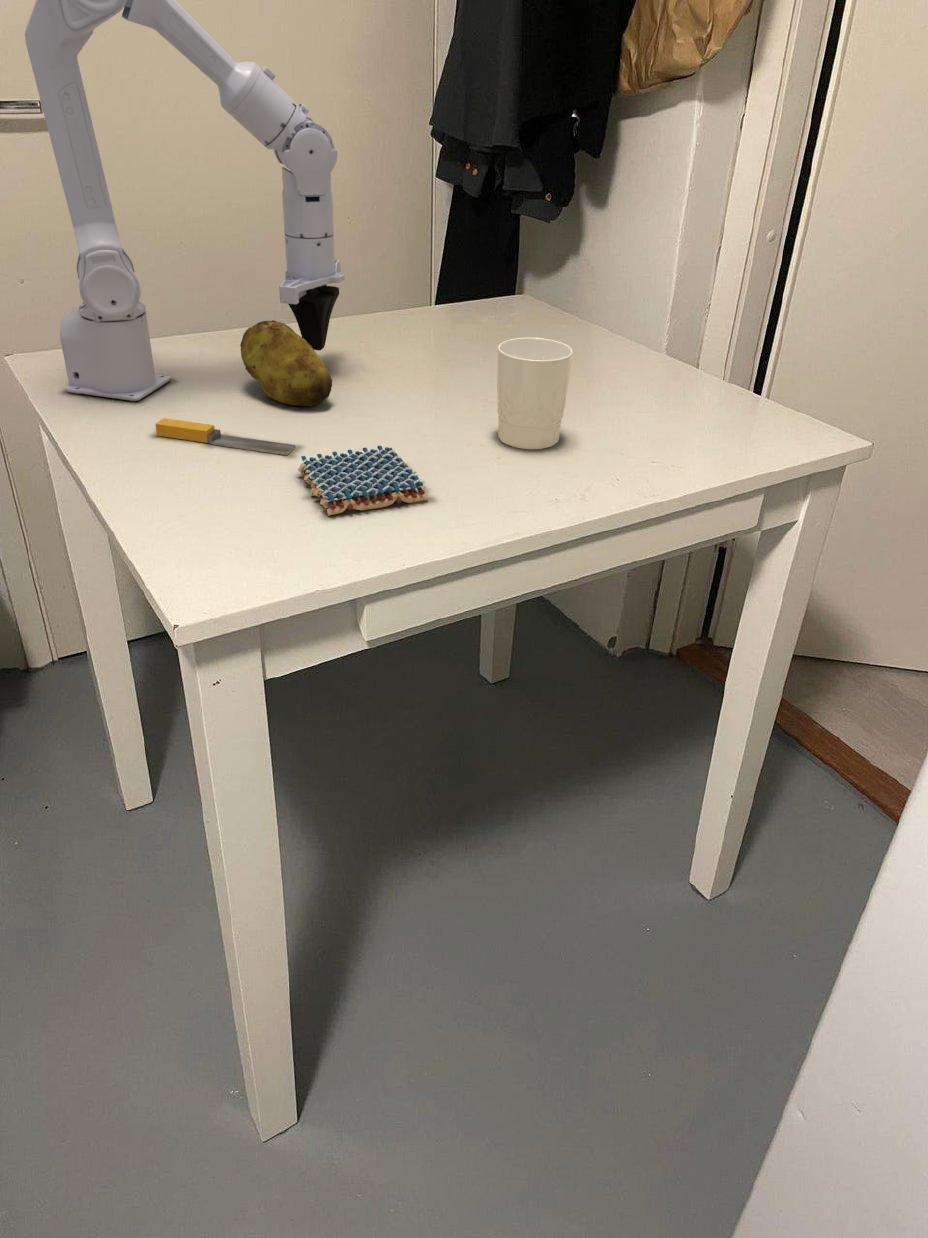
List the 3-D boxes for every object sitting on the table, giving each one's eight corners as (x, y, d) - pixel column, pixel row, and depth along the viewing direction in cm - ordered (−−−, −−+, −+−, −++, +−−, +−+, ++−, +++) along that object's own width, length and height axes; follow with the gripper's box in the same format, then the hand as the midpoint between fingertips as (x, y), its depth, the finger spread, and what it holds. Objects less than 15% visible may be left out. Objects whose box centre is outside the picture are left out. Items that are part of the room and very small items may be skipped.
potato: (270, 419, 108) (264, 348, 104) (236, 383, 117) (230, 317, 113) (339, 409, 111) (336, 340, 107) (301, 374, 121) (297, 310, 116)
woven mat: (326, 520, 88) (325, 500, 87) (295, 473, 96) (294, 455, 95) (431, 503, 92) (432, 483, 91) (393, 460, 100) (393, 441, 99)
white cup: (571, 431, 108) (580, 343, 103) (553, 457, 102) (562, 364, 97) (504, 420, 110) (510, 333, 105) (483, 445, 104) (488, 354, 99)
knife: (155, 436, 103) (153, 424, 102) (166, 429, 105) (164, 416, 104) (287, 455, 100) (286, 442, 99) (295, 447, 102) (294, 435, 101)
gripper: (318, 249, 106) (323, 369, 114) (362, 224, 118) (364, 335, 125) (258, 243, 108) (268, 362, 115) (308, 219, 119) (313, 329, 127)
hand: (314, 348), depth 120 cm, fingers closed
